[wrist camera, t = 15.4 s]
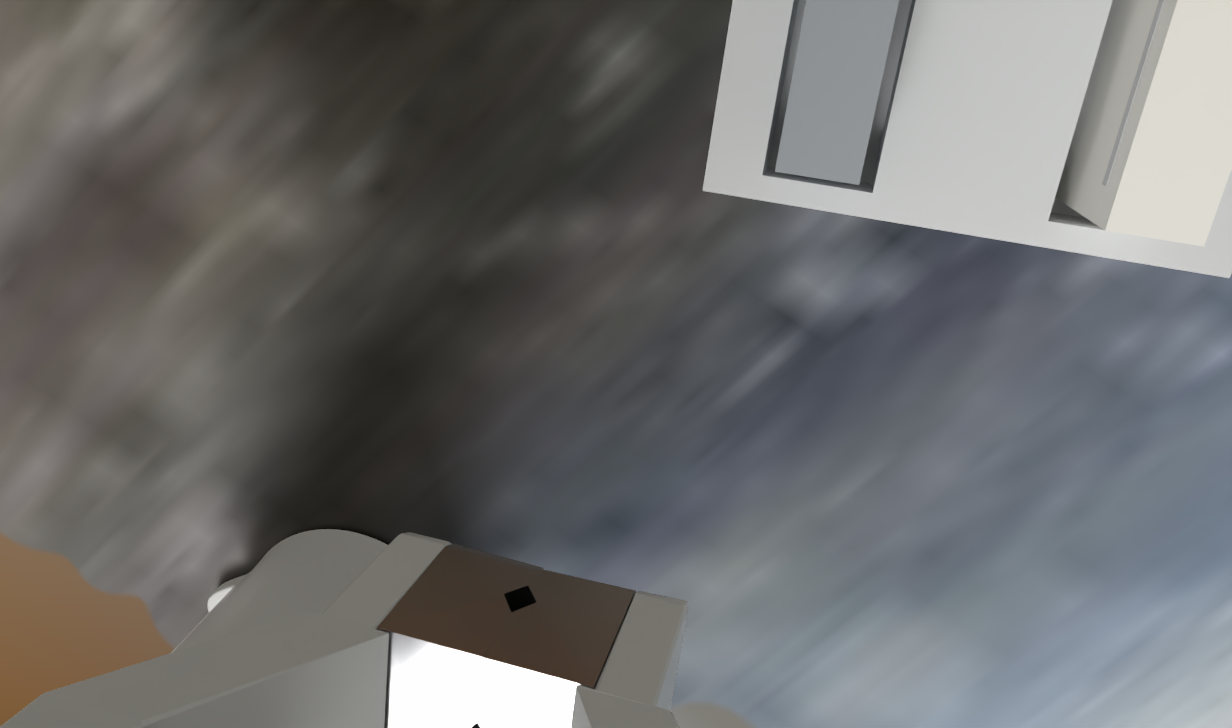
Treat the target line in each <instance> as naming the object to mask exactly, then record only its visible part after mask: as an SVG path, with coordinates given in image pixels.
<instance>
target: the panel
mask: <svg viewBox="0 0 1232 728" xmlns="http://www.w3.org/2000/svg"><path fill="white" fill-rule="evenodd" d="M1231 170H1232V0H1113V1H1112V5H1111V8H1110V12H1109V15H1108V18H1107V22H1106V25H1105V29H1104V32H1103V36H1102V39H1101V42H1100V46H1099V49H1098V53H1097V56H1096V60H1095V63H1094V66H1093V70H1092V73H1091V77H1090V80H1089V83H1088V87H1087V90H1086V94H1085V97H1084V101H1083V104H1082V107H1081V111H1080V114H1079V118H1078V121H1077V125H1076V128H1075V131H1074V135H1073V138H1072V142H1071V145H1070V148H1069V152H1068V155H1067V159H1066V162H1065V166H1064V169H1063V172H1062V176H1061V179H1060V183H1059V186H1058V190H1057V193H1056V196H1055V198H1057V199H1058V200H1060V201H1061V202H1063V203H1064V204H1066V205H1067V206H1069V207H1070V208H1072V209H1073V210H1075V211H1076V212H1078V213H1079V214H1081V215H1082V216H1084V217H1085V218H1087V219H1088V220H1090V221H1091V222H1093V223H1094V224H1096V225H1097V226H1099V227H1100V228H1102V229H1103V230H1105V231H1109V232H1116V233H1122V234H1128V235H1134V236H1141V237H1147V238H1153V239H1159V240H1165V241H1172V242H1178V243H1184V244H1190V245H1197V246H1203V247H1204V246H1205V243H1206V240H1207V237H1208V234H1209V231H1210V229H1211V226H1212V223H1213V220H1214V217H1215V215H1216V212H1217V209H1218V206H1219V203H1220V201H1221V198H1222V195H1223V192H1224V189H1225V186H1226V184H1227V181H1228V178H1229V175H1230V172H1231Z"/></svg>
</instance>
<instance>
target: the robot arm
mask: <svg viewBox="0 0 1232 728" xmlns="http://www.w3.org/2000/svg"><path fill="white" fill-rule="evenodd" d="M208 611H209V613H208V614H207V615H206V616H205V617H204V619H203V620H202V621H201V622H200V623H199V624H198V625H197V626H196V627H195V628H194V629H193V630H192V631H191V632H190V633H189V634H188V635H187V636H186V637H185V639H184V640H183V641H182V642H181V643H180V644H179V645H178V646H177V647H176V648H175V649H174V650H173V651H172V653H170V654H167V655H164V656H161V657H157V658H154V659H151V660H148V661H145V662H142V663H139V664H135V665H132V666H129V667H126V668H122V669H119V670H116V671H113V672H110V673H107V674H103V675H100V676H97V677H94V678H91V679H88V680H84V681H81V682H78V683H75V684H72V685H68V686H65V687H62V688H59V689H56V690H52V691H49V692H46V693H43V694H42V695H41V696H39V697H38V698H37V699H35V700H34V701H33V702H32V703H30V704H29V705H28V706H26V707H25V708H24V709H22V710H21V711H20V712H19V713H17V714H16V715H15V716H13V717H12V718H11V719H10V720H8V721H7V722H6V723H4V724H3V725H2V726H0V728H680V727H679V725H678V723H677V721H676V719H675V717H674V715H673V713H672V712H671V711H670V707H671V703H672V697H673V692H674V686H675V681H676V675H677V670H678V665H679V659H680V654H681V648H682V643H683V637H684V632H685V627H686V621H687V613H688V606H687V601H685V600H680V599H675V598H670V597H666V596H661V595H656V594H652V593H647V592H642V591H638V592H636V591H635V590H631V589H626V588H622V587H618V586H613V585H609V584H605V583H600V582H596V581H591V580H587V579H583V578H578V577H574V576H570V575H565V574H561V573H556V572H552V571H548V570H544V568H542V567H538V566H535V565H531V564H527V563H524V562H520V561H516V560H513V559H509V558H506V557H502V556H498V555H495V554H491V553H487V552H484V551H480V550H476V549H473V548H469V547H466V546H462V545H458V544H451V543H450V542H448V541H444V540H440V539H436V538H432V537H428V536H424V535H420V534H415V533H411V532H408V533H402V534H400V535H398V536H397V537H396V538H395V539H394V540H393V541H392V542H391V543H390V544H389V545H387V544H385V543H383V542H381V541H379V540H376V539H374V538H371V537H369V536H366V535H362V534H359V533H355V532H351V531H345V530H337V529H318V530H310V531H305V532H301V533H298V534H295V535H293V536H290V537H288V538H286V539H284V540H282V541H281V542H279V543H278V544H276V545H275V546H274V547H273V548H271V549H270V550H269V551H268V552H267V553H266V554H265V555H264V557H263V558H262V559H261V560H260V562H259V563H258V564H257V565H256V566H255V567H254V569H253V570H252V571H250V572H249V573H248V574H246V575H243V576H240V577H237V578H234V579H232V580H229V581H227V582H225V583H223V584H222V585H220V586H219V587H218V588H217V589H216V591H215V592H214V593H213V594H212V595H211V596H210V597H209V599H208Z"/></svg>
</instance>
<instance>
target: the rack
mask: <svg viewBox="0 0 1232 728" xmlns="http://www.w3.org/2000/svg"><path fill="white" fill-rule="evenodd" d="M1112 1H1113V0H733V2H732V8H731V15H730V21H729V27H728V33H727V40H726V46H725V52H724V59H723V65H722V71H721V78H720V84H719V90H718V96H717V103H716V109H715V115H714V122H713V128H712V134H711V141H710V147H709V153H708V159H707V166H706V172H705V178H704V185H703V191H708V192H714V193H720V194H726V195H732V196H738V197H744V198H750V199H756V200H762V201H768V202H774V203H780V204H786V205H792V206H798V207H804V208H810V209H816V210H822V211H828V212H834V213H840V214H846V215H852V216H858V217H864V218H870V219H876V220H882V221H888V222H894V223H900V224H906V225H912V226H918V227H924V228H930V229H936V230H943V231H949V232H955V233H961V234H967V235H973V236H979V237H985V238H991V239H997V240H1003V241H1009V242H1015V243H1021V244H1027V245H1033V246H1039V247H1045V248H1051V249H1057V250H1063V251H1069V252H1075V253H1081V254H1087V255H1093V256H1099V257H1105V258H1111V259H1117V260H1123V261H1129V262H1135V263H1141V264H1147V265H1153V266H1159V267H1165V268H1171V269H1177V270H1184V271H1190V272H1196V273H1202V274H1208V275H1214V276H1220V277H1226V278H1230V276H1231V273H1232V170H1231V172H1230V175H1229V178H1228V181H1227V184H1226V186H1225V189H1224V192H1223V195H1222V198H1221V201H1220V203H1219V206H1218V209H1217V212H1216V215H1215V217H1214V220H1213V223H1212V226H1211V229H1210V231H1209V234H1208V237H1207V240H1206V243H1205V246H1204V247H1203V246H1197V245H1190V244H1184V243H1178V242H1172V241H1165V240H1159V239H1153V238H1147V237H1141V236H1134V235H1128V234H1122V233H1116V232H1109V231H1105V230H1103V229H1102V228H1100V227H1099V226H1097V225H1096V224H1094V223H1093V222H1091V221H1090V220H1088V219H1087V218H1085V217H1084V216H1082V215H1081V214H1079V213H1078V212H1076V211H1075V210H1073V209H1072V208H1070V207H1069V206H1067V205H1066V204H1064V203H1063V202H1061V201H1060V200H1058V199H1057V198H1055V196H1056V193H1057V190H1058V186H1059V183H1060V179H1061V176H1062V172H1063V169H1064V166H1065V162H1066V159H1067V155H1068V152H1069V148H1070V145H1071V142H1072V138H1073V135H1074V131H1075V128H1076V125H1077V121H1078V118H1079V114H1080V111H1081V107H1082V104H1083V101H1084V97H1085V94H1086V90H1087V87H1088V83H1089V80H1090V77H1091V73H1092V70H1093V66H1094V63H1095V60H1096V56H1097V53H1098V49H1099V46H1100V42H1101V39H1102V36H1103V32H1104V29H1105V25H1106V22H1107V18H1108V15H1109V12H1110V8H1111V5H1112Z"/></svg>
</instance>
